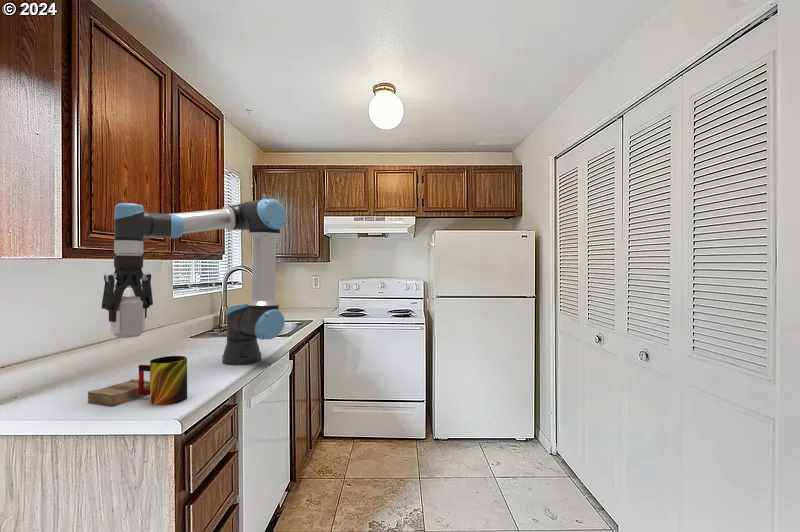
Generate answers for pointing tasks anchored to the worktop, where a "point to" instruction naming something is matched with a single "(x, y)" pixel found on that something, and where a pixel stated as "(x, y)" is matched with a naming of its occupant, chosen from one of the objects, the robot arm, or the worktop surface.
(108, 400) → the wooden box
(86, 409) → the worktop surface
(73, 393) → the worktop surface
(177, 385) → the mug
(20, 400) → the worktop surface
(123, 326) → the can
